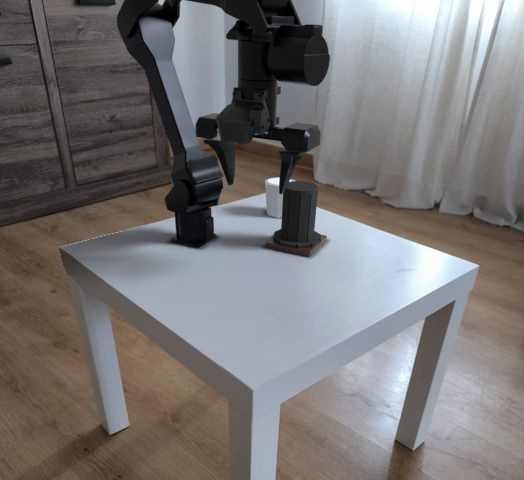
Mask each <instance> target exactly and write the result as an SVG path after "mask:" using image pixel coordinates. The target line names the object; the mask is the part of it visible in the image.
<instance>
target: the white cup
mask: <svg viewBox="0 0 524 480" xmlns="http://www.w3.org/2000/svg"><path fill="white" fill-rule="evenodd" d="M279 180H280V176H277V177H269V178H266V179H265V180H264V183H265V184H264V186H265V205H266V215H268V216H269V217H271V218H277V219H282V205H283V194H279ZM292 181H296V180H295V179H293V178H290V181H289V182H292Z"/></svg>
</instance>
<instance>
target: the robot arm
mask: <svg viewBox="0 0 524 480" xmlns="http://www.w3.org/2000/svg"><path fill="white" fill-rule="evenodd" d="M185 1H187V2H193V3H199V4H204V5H209V6H210V5H211V6H215V7H217V8H219V9H221V10H222V11H223V13H225V14H226V15H228V16H229V17H232V18H234V19H236V21H235V23H234V25H233V26H232V27H231V28H230V29H229V30H228V31H227V32H226V34H225V38H226V39H227V40H228V41H230V40H231V41H237V86H235V87H232V89H233V91H232V98H231V103H229V104H227V105H226V106H225V107H224V108H223V109H222V110H221V111H220V112H219V113H216V112H213V113H210V114H206V115H201V116H199V117H198V118H197V120H196V122H195V125H194V123H193V119H192V116H191V113H190V110H189V107H188V104H187V101H186V98H185V95H184V92H183V88H182V85H181V83H180V79H179V76H178V74H177V69H176V67H175V64H174V61H173V55H174V49H175V44H176V43H175V42H176V38H175V34H174V28H175V26H176V24H177V22H178V21H179V19H180V17H181V2H182V0H164V1H163V2H162V4H161V3H159V0H123V2H122V4H121V6H120V8H119V10H118V13H117V15H116V26H117V29H118V32H119V35H120V37H121V40H122V42H123V44H124V46H125V48H126V50H127V52H128V54H129V55H130V56H131V57H132V59H134V60H135V61H136V62H137V63H138V64H139V65H140V66H141V67H142V69H143V71H144V73H145V76H146V79H147V82H148V85H149V88H150V90H151V93H152V97H153V99H154V102H155V105H156V108H157V112H158V115H159V117H160V120H161V123H162V126H163V129H164V131H165V134H166V138H167V140H168V143H169V146H170V150H171V152H172V155H173V161H172V166H171V172H170V175H171V180H172V184H173V186H172V187H171V188H170V190H169V191H168V193H167V194H166V195H165V196H164V203H165V206H166V209H167V211H169V212H172V213H174V222H175V236H173V237H171V242H173V243H179V244H181V245H187V246H189V247H191V246H192V247H196V248H201V247H203V246H205V245H207V244H208V243H209V242H211V241H213V240H215V238H217V237H218V235H217V233H215V219H214V217H213V215H212V213H213V212H212V207H216V206H218V205H219V200H220V197H221V194H222V192H223V191H222V190H223V189H224V181H223V178H224V177H225V180H226V183H227V185H228V186H232V185H234V181H235V175H236V155H237V154H236V151H237V143H238V144H239V145H247V144H250V143H251V142H252V141H253V139H262V140H267V141H269V140H270V141H274V142H275V141H276V142H280V144H281V145H282V147H283V149H281V150H279V151H278V154H279V158H280V172H279V177H280V180H279V194H283V193H284V192H285V189H286V187H287V185H288V183H289V181H290V179H292V176H293V173H294V171H295V170H296V167H297V166H298V163H299V162H300V161H301V159H302V157H303V155H304V154H306V153H309V152H310V151H311V150H313V149H315V148H317V147H319V146H320V145H321V136H322V135H321V134H322V132H321V130H320V128H319V126H318V124H311V123H303V122H294V123H292V124H289V125H287V126H284V127H280V126H278V125H280V118H281V117H280V116H277V106H278V105H277V104H278V95H281V93H282V92H281V91H282V86H280V85H279V84H278V83H279V82H280V83H287V84H295V85H303V86H309V87H317V86H319V85H320V84H322V82H324V80H325V78H326V77H327V74H328V71H329V68H330V61H331V54H330V53H329V52H330V51H329V47H328V42H327V41H326V38H325V37H324V36H323V29H324V27H323V25H322V24H309V23H307V24H306V23H305V24H303V23H302V21H301V19H300V16H299V14H298V11H297V9H296V7H295V5H294V2H293V0H185ZM199 139H202V142H203V144H204V145H208V146H209V147H210V148H211V149H213V151H214V152H215V153H211V154H208V153H207V152H206V151H205V149H203V147H202V146H201V144H200V140H199ZM219 163H220V164H219ZM220 167H221V168H222V171H221V168H220Z"/></svg>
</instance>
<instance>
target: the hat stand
mask: <svg viewBox="0 0 524 480" xmlns="http://www.w3.org/2000/svg"><path fill="white" fill-rule="evenodd" d="M319 234H320V235H321V243H320V244H318V245H315V246H313V247H309V248H297V247H296V248H292V247H287V246H283V245H280V244H278V243H277V242H275V241H274V240H273V236H271V237H269V239H268V240H266V241H265V242H264V243H265V245H264V247H265V248H268V249H272V250H278V251H280V252H281V251H282V252H286V253H291V254H295V255H299V256H305V257H309V258H310V257H311V256H312V255H313V254H314V253H315V252H317V251H318V249H319V248H320V247H322V245H324V244H325V242H326V241H327V240H328V239H327V238H328V235H325V234H321V233H319Z"/></svg>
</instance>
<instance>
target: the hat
mask: <svg viewBox="0 0 524 480" xmlns="http://www.w3.org/2000/svg"><path fill="white" fill-rule="evenodd" d="M318 194H319V185H317V184H316V183H314V182H310V181H304V180H295V181H292V182H289V183H288V185H287V187H286V189H285V192H284V193H283V205H282V218H281V226H280V229H278V230H275V231H274V232H273V235H272V237H273V240H274V241H275V242H277V243H278V244H280V245H283V246H287V247H292V248H296V247H297V248H309V247H313V246H315V245H318V244H320V243H321V235H322V234H321V233H319V232H317V231H315V229H316V216H317V206H318V196H319V195H318ZM320 234H321V235H320Z"/></svg>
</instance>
